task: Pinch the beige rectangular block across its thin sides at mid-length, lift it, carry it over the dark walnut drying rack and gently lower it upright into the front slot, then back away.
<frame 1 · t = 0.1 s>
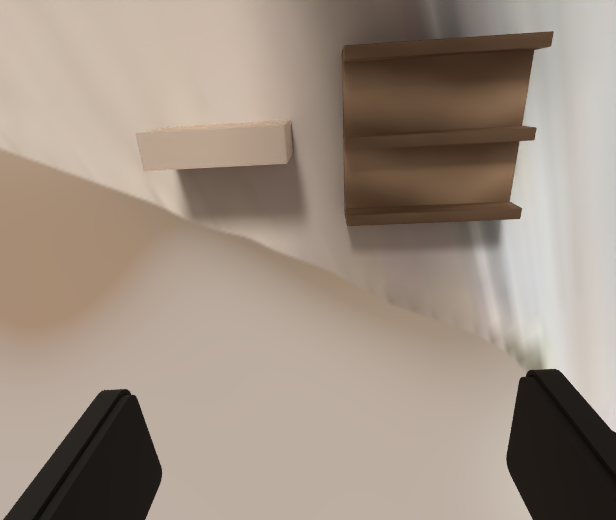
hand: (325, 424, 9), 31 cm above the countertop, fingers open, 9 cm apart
walnut rack: (427, 134, 36), on the countertop
beige rectangular block: (231, 139, 37), on the countertop
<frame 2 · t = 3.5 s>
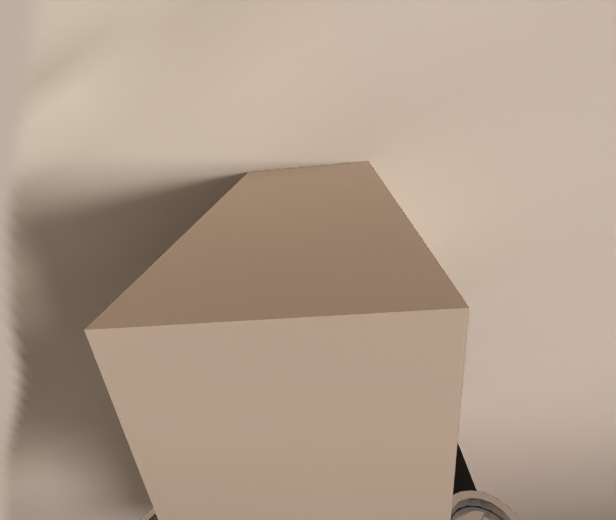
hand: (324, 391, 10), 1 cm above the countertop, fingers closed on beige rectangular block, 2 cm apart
beige rectangular block: (325, 361, 12), on the countertop, touching gripper
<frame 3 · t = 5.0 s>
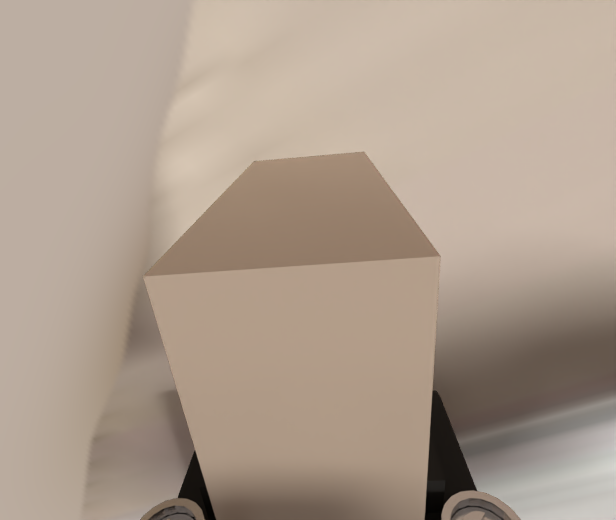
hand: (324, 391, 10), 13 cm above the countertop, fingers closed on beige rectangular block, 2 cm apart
beige rectangular block: (324, 338, 13), point 11 cm above the countertop, touching gripper
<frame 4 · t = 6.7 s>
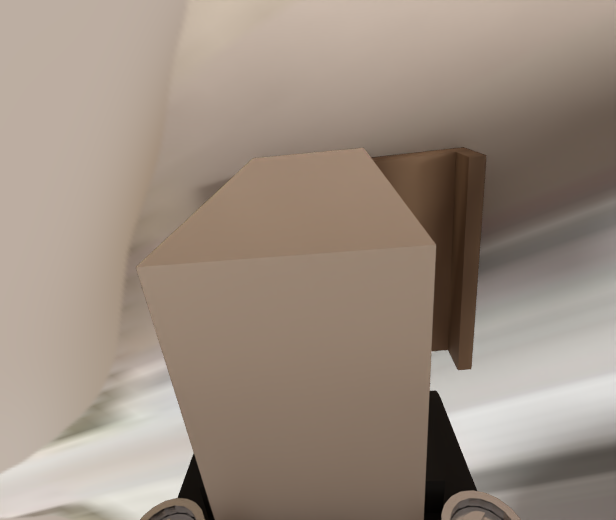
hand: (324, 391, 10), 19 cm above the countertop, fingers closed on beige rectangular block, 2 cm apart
walnut rack: (361, 261, 30), on the countertop
beige rectangular block: (325, 336, 12), point 17 cm above the countertop, touching gripper
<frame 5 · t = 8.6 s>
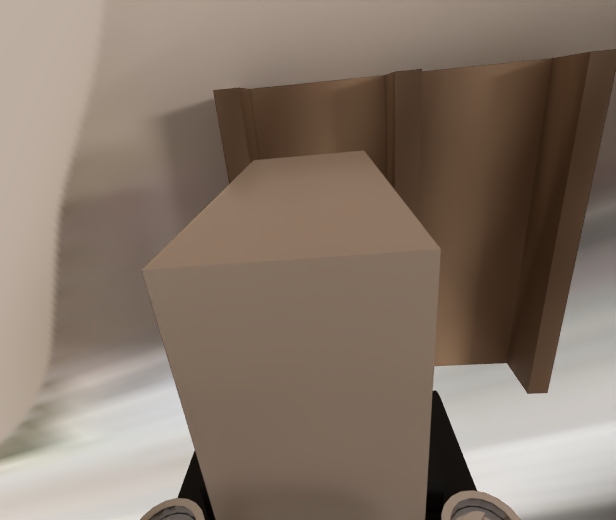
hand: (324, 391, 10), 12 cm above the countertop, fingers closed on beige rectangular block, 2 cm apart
walnut rack: (391, 235, 21), on the countertop
beige rectangular block: (324, 338, 13), point 9 cm above the countertop, touching gripper
when the fingers open (4 cm above the countertop, at t = 10.2 s): beige rectangular block stays where it is, resting on walnut rack.
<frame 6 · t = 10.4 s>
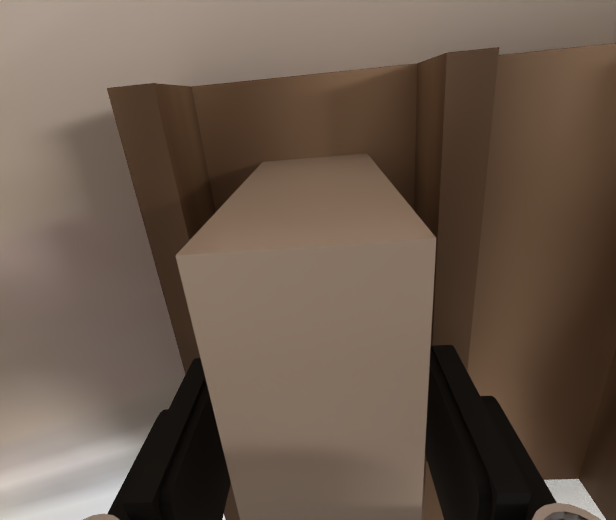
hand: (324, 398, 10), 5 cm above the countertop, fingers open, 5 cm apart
walnut rack: (416, 302, 14), on the countertop
beige rectangular block: (327, 333, 13), point 1 cm above the countertop, touching walnut rack
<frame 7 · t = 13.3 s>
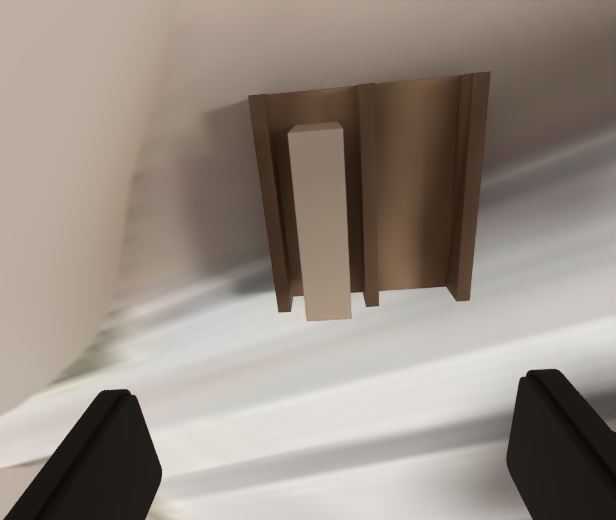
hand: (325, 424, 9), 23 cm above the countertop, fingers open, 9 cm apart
walnut rack: (363, 195, 30), on the countertop
beige rectangular block: (322, 204, 29), point 1 cm above the countertop, touching walnut rack
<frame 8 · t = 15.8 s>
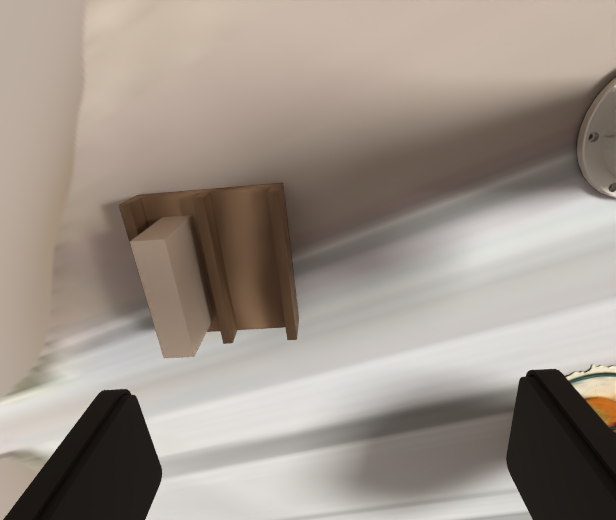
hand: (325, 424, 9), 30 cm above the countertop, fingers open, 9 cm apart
walnut rack: (223, 261, 41), on the countertop
decorative vase: (589, 414, 48), on the countertop
beige rectangular block: (189, 270, 40), point 1 cm above the countertop, touching walnut rack
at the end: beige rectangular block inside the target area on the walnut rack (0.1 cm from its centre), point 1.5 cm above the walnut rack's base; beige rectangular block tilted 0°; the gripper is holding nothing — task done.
